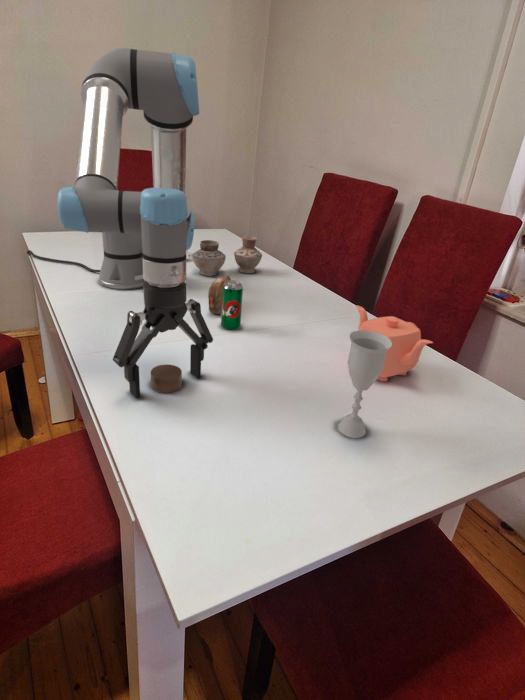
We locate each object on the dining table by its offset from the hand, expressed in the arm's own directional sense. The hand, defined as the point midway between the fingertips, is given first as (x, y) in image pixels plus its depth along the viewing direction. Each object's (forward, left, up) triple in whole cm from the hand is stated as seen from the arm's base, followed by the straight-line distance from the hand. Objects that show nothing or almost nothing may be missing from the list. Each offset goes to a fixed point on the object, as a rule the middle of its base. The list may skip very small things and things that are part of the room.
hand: (166, 384), depth 90 cm
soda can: (-16, +28, 0) cm, 32 cm away
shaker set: (-77, +49, 0) cm, 91 cm away
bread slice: (-28, +33, 0) cm, 43 cm away
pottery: (-54, +55, 0) cm, 77 cm away
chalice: (+31, +20, 0) cm, 37 cm away
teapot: (+20, +44, 0) cm, 48 cm away
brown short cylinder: (0, 0, 0) cm, 0 cm away
